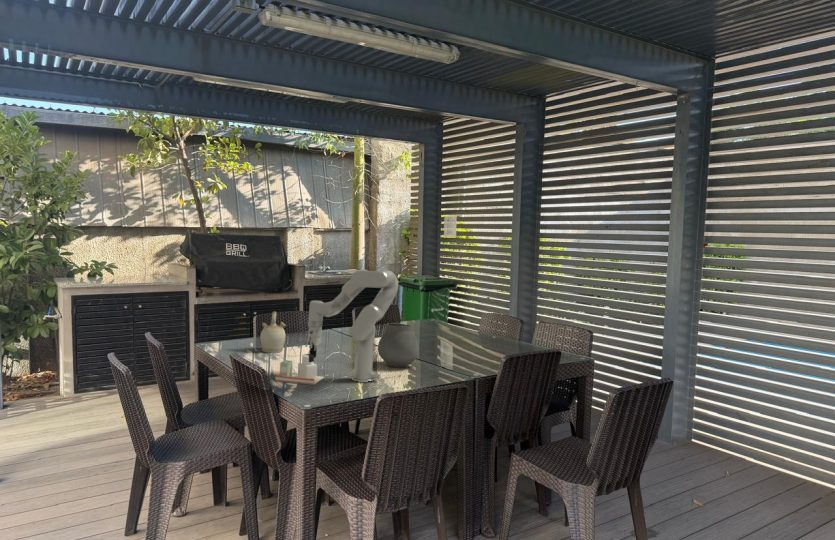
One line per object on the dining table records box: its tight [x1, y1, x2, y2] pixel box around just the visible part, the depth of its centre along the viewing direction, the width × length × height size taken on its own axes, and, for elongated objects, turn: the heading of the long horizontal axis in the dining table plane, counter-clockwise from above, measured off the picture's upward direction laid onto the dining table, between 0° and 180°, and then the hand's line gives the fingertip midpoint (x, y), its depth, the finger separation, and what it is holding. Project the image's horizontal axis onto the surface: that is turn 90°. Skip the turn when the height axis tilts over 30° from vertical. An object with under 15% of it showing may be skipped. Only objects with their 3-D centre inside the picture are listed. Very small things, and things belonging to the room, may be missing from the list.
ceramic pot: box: [377, 322, 420, 368], centre depth 337 cm, size 24×24×25 cm
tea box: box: [279, 359, 293, 377], centre depth 294 cm, size 4×6×9 cm, turn 170°
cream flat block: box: [275, 373, 325, 386], centre depth 296 cm, size 20×17×3 cm
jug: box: [259, 311, 287, 354], centre depth 359 cm, size 15×16×25 cm
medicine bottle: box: [297, 353, 318, 379], centre depth 299 cm, size 7×7×12 cm
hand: (312, 357), depth 309 cm, fingers closed
